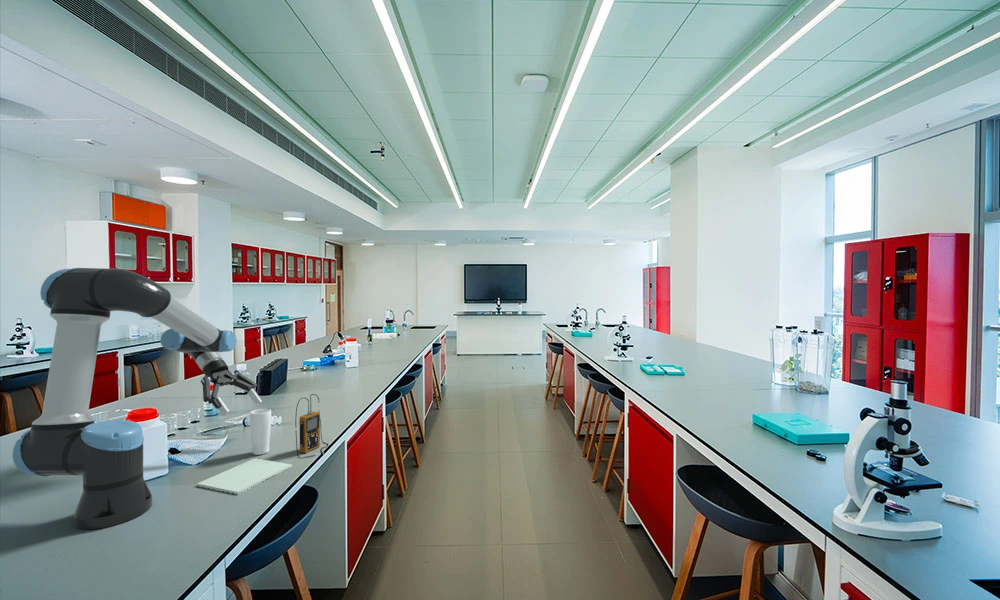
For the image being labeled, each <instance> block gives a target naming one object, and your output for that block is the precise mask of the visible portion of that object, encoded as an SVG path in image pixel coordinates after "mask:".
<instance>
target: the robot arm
mask: <svg viewBox="0 0 1000 600" xmlns="http://www.w3.org/2000/svg"><path fill="white" fill-rule="evenodd" d="M40 298H41V300H42V301H44V302H43V304H44V305H45V306H46V307H47V308H49V309H50V312H49V316H50V317H51V318H52V319H53V320H54V321H55V322H56V327H55V333H54V339H53V347H52V352H51V357H50V365H49V370H48V377H47V382H46V388H45V395H44V400H43V406H42V413H41V415H40V416H39V417H38V418H36V419H35V420H33V421H32V423H31V428H30V429H29V430H27V431H25V432H24V433H23V434H21V436H20V439H19V438H18V439H17V440H16V442H15V443H14V446H13V449H12V461H13V464H14V465H15V467H16V468H17V469H18V470H19V471H21V472H22V473H24V474H27V475H29V476H30V475H31V476H40V477H50V476H82V493H81V496H80V498H79V501H78V503H77V506H76V508H75V511H74V514H73V526H74V528H76V529H81V530H95V529H103V528H109V527H111V526H116V525H119V524H123V523H125V522H128V521H130V520H134V519H135V518H137V517H139V516H141V515H143V514H145V513H147V511H148V510H150V509H151V508H152V506H153V496H152V493H151V491H150V489H149V487H148V486H149V485H148V484H147V483H146V480H145V478H144V440H145V439H144V435H143V434H144V433H143V428H142V426H141V425H140V423H138V422H136V421H132V420H126V419H114V420H102V421H96V422H95V420H96V419H95V418H94V417H93V416H92V415H91V414H89V411H90V410H89V409H90V402H91V395H92V389H93V383H94V382H93V381H94V375H95V369H96V361H97V354H98V347H99V341H100V337H101V335H100V334H101V329H102V328H101V327H102V325H103V324H104V323H106V322H108V321H109V320H110V319H111V317H110V316H111V312H115V311H117V312H128V313H134V314H136V315H139V316H140V317H142V318H152V319H154V320H155V321H157V322H159V323H161V324H163V325H164V326H166V327H168V329H167V330H165V331H163V333H162V334H161V337H160V342H159V343H160V344H161V347H162V348H164V349H167V350H169V351H170V352H171V351H172V352H173V351H174V352H179V353H182V354H187V355H190V356H191V358H192V359H193V360H194V361H195V363H196V364H197V366H198V368H199V369H200V370H201V371H202V373H203V375H204V376H203V377H202V378H201V380H200V383H201V385H202V398H203V399H202V400H203V402H204V403H207V402H208V404H210V405H211V404H212V405H213V407H214V408H215V409H217V410H218V411H219V412H220V414H221V416H222V417H226V416H227V415H228V413H229V412H230V410H229V409H228V407H227V405H226V404H225V403H224V401H223V400H222V399H221V397H220V396H218V394H219V393H218V392H219V389H220V387H223V386H234V387H237V388H239V389H241V390H243V391H246V392H247V395H248V396H249V398H250V400H251V401H252V402H253V404H254V405H255V407H259V406H260V404H261V403H262V402H263V401H262V400H261V398H260V396H259V393H258V392H257V391H256V388H257V386H258V384H257V383H256V382H255V381H253V380H251V379H250V378H248V377H247V376H245V375H244V374H242V373H241V372H240V371H239V370H238V369H235V370H234V371H230V369H229V366H228V364H227V363H226V361H225V360H224V359H223V357H222V356H221V354H220V353H224V352H225V353H227V352H231V351H233V350H234V349H235V347H236V345H237V336H236V333H235V332H234V331H232V330H222V329H219V328H218V327H216V326H215V325H213V324H212V323H210V321H209V322H208V321H207V320H206V319H204V318H203V317H201V316H200V315H198V314H197V313H195V312H194V311H192V310H191V309H189V308H188V307H187V306H185V305H184V304H182V303H181V302H179V301H178V300H177V299H174V298H173V297H172V294H171V292H170V291H169V290H168V289H167V288H165V287H164V286H162V285H161V284H159V283H157V282H156V281H154V280H152V279H150V278H148V277H146V276H144V275H141V274H139V273H136V272H135V271H131V270H127V269H123V268H112V267H111V268H96V267H95V268H94V267H73V268H63V269H58V270H56V271H55V272H53V273H51V274H49V275H48V276H47V277H46V278H45V280H44V281H43V283H42V284H41V287H40ZM211 383H212V384H213V385H212V390H211Z"/></svg>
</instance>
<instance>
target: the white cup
mask: <svg viewBox="0 0 1000 600" xmlns="http://www.w3.org/2000/svg"><path fill="white" fill-rule="evenodd" d="M249 428H250V429H249V430H250V438H251V448H252V450H251V451H252V454H253V455H255V456H262V455H265V453H266V454H268V453H269V452H270V443H271V442H270V441H271V430H272V409H271V408H258V409H254V410H251V411H250V412H249Z"/></svg>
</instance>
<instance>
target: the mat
mask: <svg viewBox="0 0 1000 600" xmlns="http://www.w3.org/2000/svg"><path fill="white" fill-rule="evenodd" d="M291 467H292V468H293V464H290V463H285V462H280V461H279V462H278V461H274V460H268V459H261V458H253V459H250V460H248V461H245V462H243V463H241V464H239V465H237V466H234V467H232V468H230V469H227V470H225V471H223V472H220V473H218V474H216V475H214V476H211V477H209V478H207V479H205V480H202V481H200V482H197V484H196V487H198V486H199V487H200V488H203V487H204V489H208V488H209V490H213V489H214V491H218V490H219V491H218V492H222V491H224V492H223V493H227V492H229V493H228V494H232V493H234V494H233V495H237V494H238V495H240V494H242V493H245V492H246V491H248V490H250V489H252V488H254V487H255V485H256V486H258V485H259V483H260V484H262V483H263V482H262V481H264V482H265V480H266V479H268V478H270V477H272V476H274V475H276V476H278V475H280V474H282V473H283V471H284V470H286V469H288V468H290V469H291ZM288 470H289V469H288ZM286 471H287V470H286ZM281 472H282V473H281ZM284 472H285V471H284ZM279 473H280V474H279ZM277 474H278V475H277ZM274 477H275V476H274ZM272 478H273V477H272ZM270 479H271V478H270ZM268 480H269V479H268ZM266 481H267V480H266ZM261 482H262V483H261ZM257 484H258V485H257ZM253 486H254V487H253ZM251 487H252V488H251ZM247 489H248V490H247ZM241 492H242V493H241ZM239 493H240V494H239Z"/></svg>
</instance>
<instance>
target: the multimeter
mask: <svg viewBox="0 0 1000 600" xmlns="http://www.w3.org/2000/svg"><path fill="white" fill-rule="evenodd" d="M313 395H314V396H316V397H317V400H318V402H320V398H319V395H317V393H316V394H315V393H312V394H310V396H309V399H308V398H307V397H301V398H300V399H299V400H298V402H297V404H296V408H295V416H297V413H298V405H299V403H300V401H301V400H303V399H306V400H307V404H308V406H307V407H308V408H307V413H306V414H303V415H300V416H299V420H298V421H299V449H298V440H297V439H298V438H297V437H298V436H297V433H298V432H297V431H295V442H296V443H295V445H296V455H297V457H298V458H299V457H300V455H299V453H305V454H308V453H309V452H311V451H314V450H315V449H318V448H320V446H321V442H322V443H323V444H326V446H323V447H321V448H320V450H321V453H322V455H325V452H324V450H323V449H324V448H327V447H328V446H329V443H327V442H324V440H323V438H322V437H323V435H322V434H321V428H322V420H321V413H320V411H312V397H311V396H313ZM295 427H297V418H295ZM320 438H321V439H320ZM320 440H321V441H320ZM298 450H299V451H298ZM317 455H319V453H316V454H315V453H313V454H309V455H306V456H305V458H311V457H315V456H317ZM303 457H304V456H303ZM303 457H302V458H301V459H304V458H303Z"/></svg>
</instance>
